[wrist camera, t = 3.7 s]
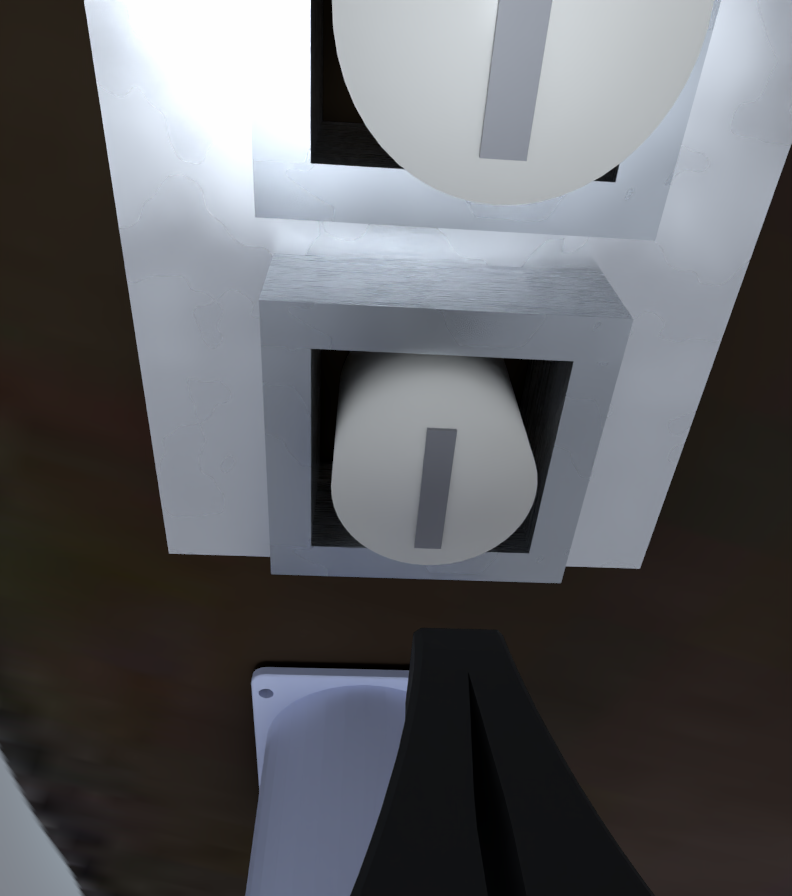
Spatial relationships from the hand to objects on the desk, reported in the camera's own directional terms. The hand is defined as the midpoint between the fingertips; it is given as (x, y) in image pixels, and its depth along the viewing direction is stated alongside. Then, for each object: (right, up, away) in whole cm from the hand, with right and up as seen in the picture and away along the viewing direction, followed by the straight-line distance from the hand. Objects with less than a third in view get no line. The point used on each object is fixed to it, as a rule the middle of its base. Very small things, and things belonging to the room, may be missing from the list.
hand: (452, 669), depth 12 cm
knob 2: (0, +5, +7) cm, 9 cm away
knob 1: (0, +11, 0) cm, 11 cm away
